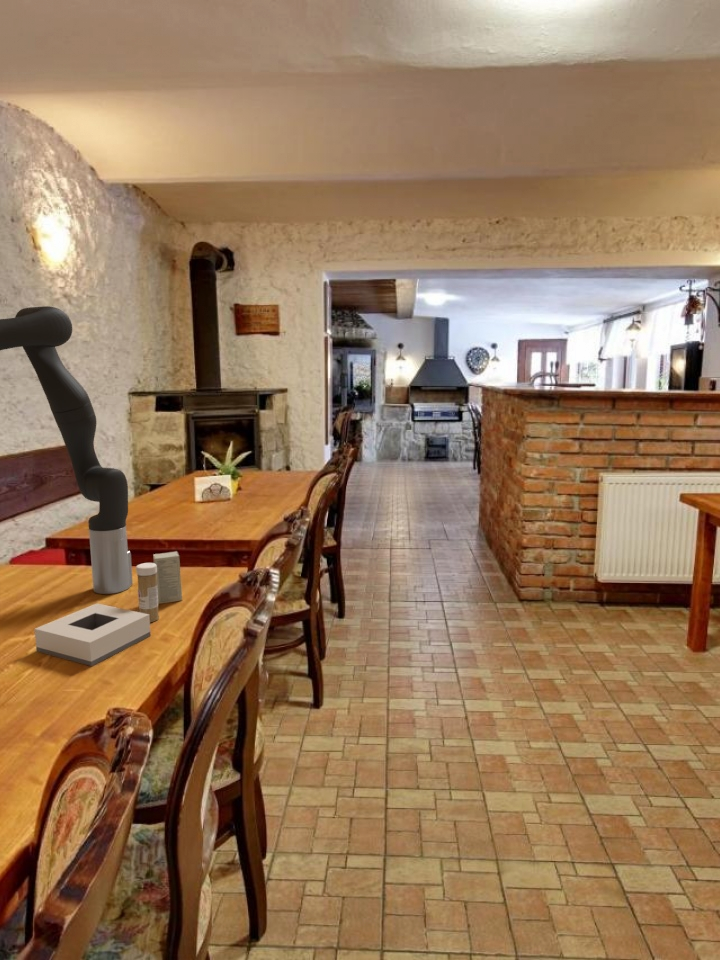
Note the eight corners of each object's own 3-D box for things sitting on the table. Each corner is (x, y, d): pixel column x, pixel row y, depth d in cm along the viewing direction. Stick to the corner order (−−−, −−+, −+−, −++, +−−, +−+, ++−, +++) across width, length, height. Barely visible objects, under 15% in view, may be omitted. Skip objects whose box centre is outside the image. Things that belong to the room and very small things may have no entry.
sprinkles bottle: (135, 619, 143) (132, 565, 141) (153, 614, 147) (149, 560, 144) (146, 624, 140) (142, 569, 138) (163, 619, 144) (160, 564, 141)
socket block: (98, 623, 141) (96, 603, 140) (150, 635, 134) (149, 614, 133) (36, 651, 127) (34, 628, 126) (91, 666, 120) (89, 642, 119)
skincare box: (180, 595, 159) (178, 550, 157) (182, 601, 155) (180, 555, 153) (155, 598, 157) (152, 553, 155) (156, 604, 153) (154, 558, 151)
